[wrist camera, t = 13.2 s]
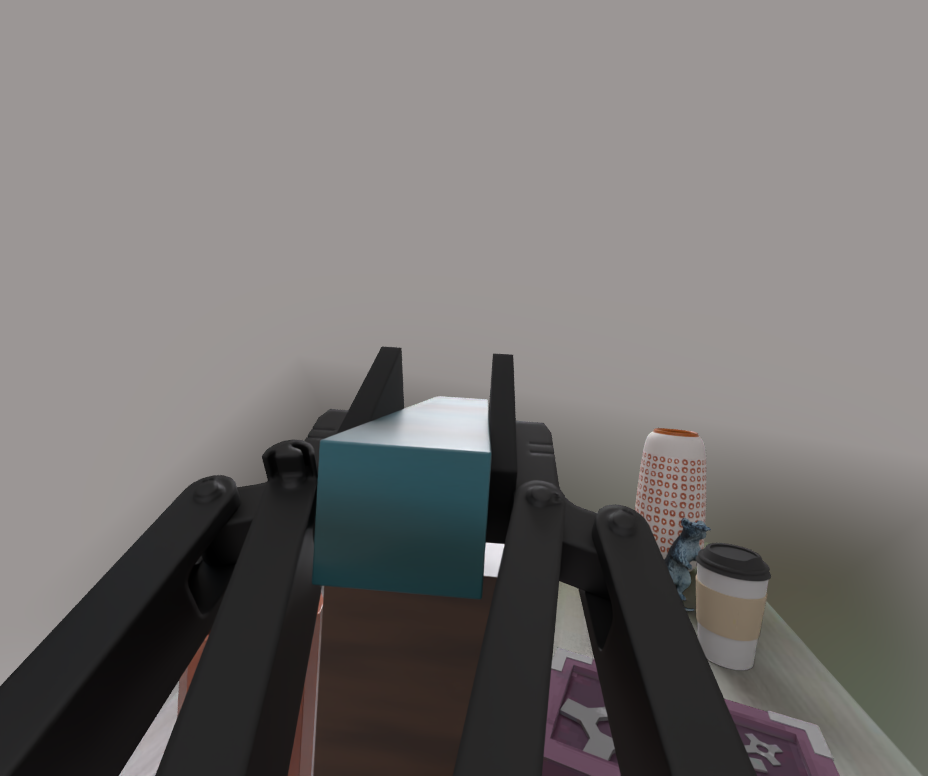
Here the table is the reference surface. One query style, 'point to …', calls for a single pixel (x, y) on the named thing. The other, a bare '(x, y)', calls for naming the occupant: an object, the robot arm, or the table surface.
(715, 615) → the coffee cup
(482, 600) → the pedestal
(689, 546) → the sculpture
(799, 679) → the table surface
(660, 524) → the vase
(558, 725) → the purple throwing star tray
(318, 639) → the tall cup
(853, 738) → the table surface
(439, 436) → the bar
